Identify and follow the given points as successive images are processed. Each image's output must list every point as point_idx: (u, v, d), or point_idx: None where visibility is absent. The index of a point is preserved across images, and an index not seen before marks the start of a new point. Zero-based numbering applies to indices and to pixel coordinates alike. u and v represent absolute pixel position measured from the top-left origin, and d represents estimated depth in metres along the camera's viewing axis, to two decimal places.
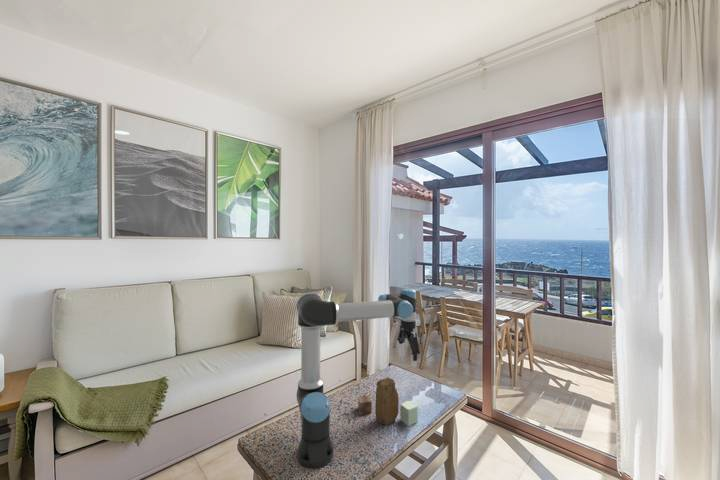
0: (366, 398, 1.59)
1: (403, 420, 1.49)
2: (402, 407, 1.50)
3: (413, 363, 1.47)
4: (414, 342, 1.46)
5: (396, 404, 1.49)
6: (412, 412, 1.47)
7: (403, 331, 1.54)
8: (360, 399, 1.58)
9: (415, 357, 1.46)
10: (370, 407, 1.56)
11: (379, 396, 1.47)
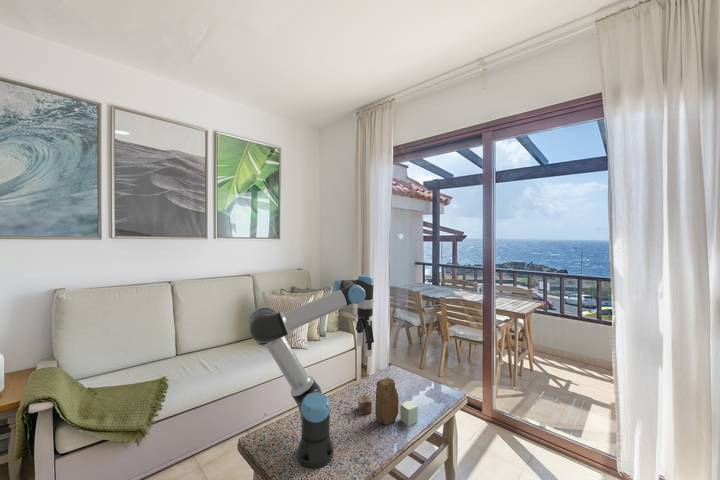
0: (366, 398, 1.59)
1: (403, 420, 1.49)
2: (402, 407, 1.49)
3: (367, 352, 1.40)
4: (368, 330, 1.39)
5: (396, 404, 1.49)
6: (412, 412, 1.47)
7: (360, 319, 1.47)
8: (360, 399, 1.58)
9: (369, 346, 1.39)
10: (370, 407, 1.56)
11: (379, 396, 1.47)
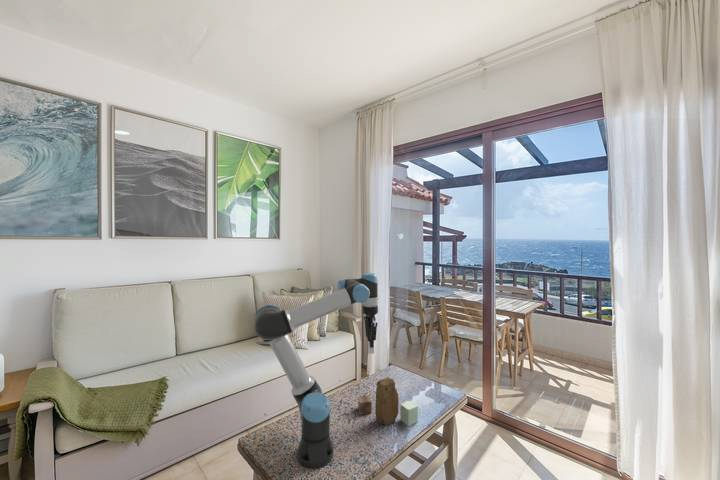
0: (366, 398, 1.59)
1: (403, 420, 1.49)
2: (402, 407, 1.49)
3: (370, 350, 1.47)
4: (372, 331, 1.43)
5: (396, 404, 1.49)
6: (412, 412, 1.47)
7: (365, 317, 1.48)
8: (360, 399, 1.58)
9: (371, 344, 1.46)
10: (370, 407, 1.56)
11: (379, 396, 1.47)
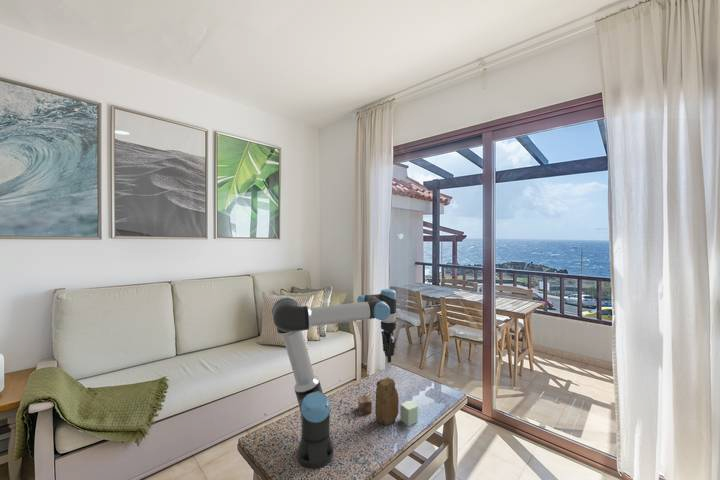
0: (366, 398, 1.59)
1: (403, 420, 1.49)
2: (402, 407, 1.50)
3: (387, 365, 1.49)
4: (391, 347, 1.45)
5: (396, 404, 1.49)
6: (412, 412, 1.47)
7: (383, 332, 1.51)
8: (360, 399, 1.58)
9: (389, 359, 1.48)
10: (370, 407, 1.56)
11: (379, 396, 1.47)
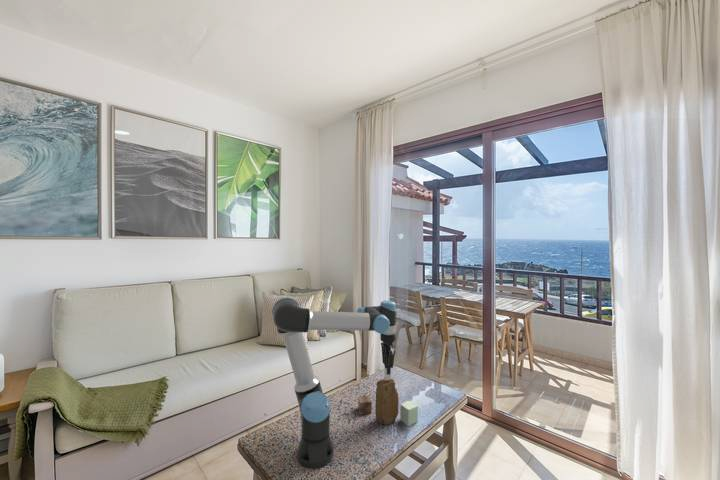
0: (366, 398, 1.59)
1: (403, 420, 1.49)
2: (402, 407, 1.49)
3: (387, 376, 1.49)
4: (390, 359, 1.45)
5: (396, 404, 1.49)
6: (412, 412, 1.47)
7: (383, 344, 1.51)
8: (360, 399, 1.58)
9: (388, 371, 1.48)
10: (370, 407, 1.56)
11: (379, 396, 1.47)
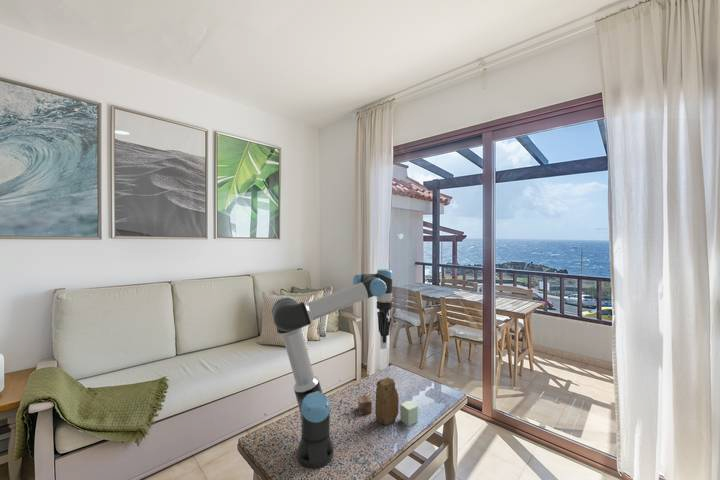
0: (366, 398, 1.59)
1: (403, 420, 1.49)
2: (402, 407, 1.50)
3: (382, 345, 1.49)
4: (386, 326, 1.45)
5: (396, 404, 1.49)
6: (412, 412, 1.47)
7: (379, 312, 1.50)
8: (360, 399, 1.58)
9: (384, 339, 1.48)
10: (370, 407, 1.56)
11: (379, 396, 1.47)
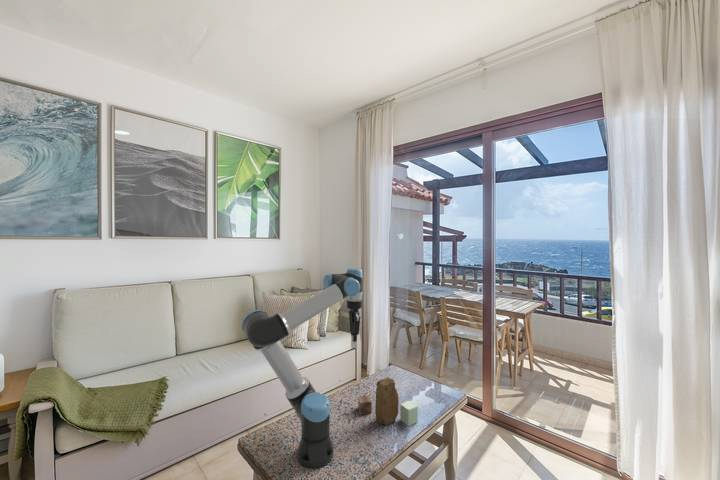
0: (366, 398, 1.59)
1: (403, 420, 1.49)
2: (402, 407, 1.50)
3: (353, 344, 1.49)
4: (356, 325, 1.45)
5: (396, 404, 1.49)
6: (412, 412, 1.47)
7: (349, 312, 1.50)
8: (360, 399, 1.58)
9: (354, 338, 1.48)
10: (370, 407, 1.56)
11: (379, 396, 1.47)
